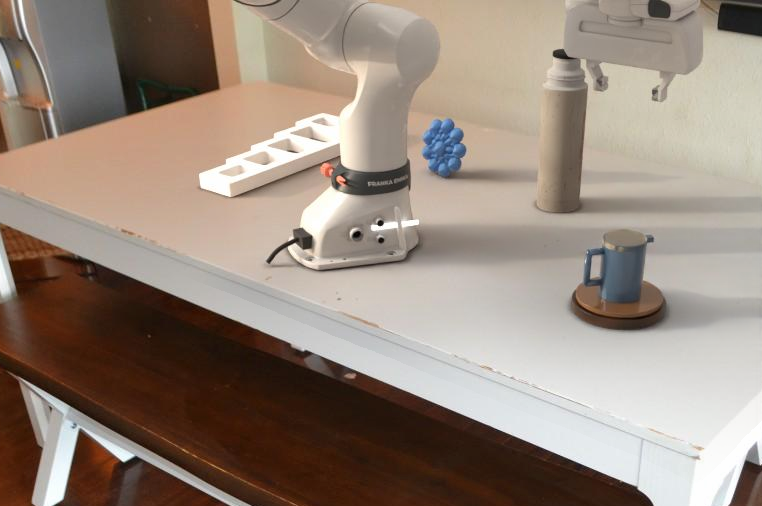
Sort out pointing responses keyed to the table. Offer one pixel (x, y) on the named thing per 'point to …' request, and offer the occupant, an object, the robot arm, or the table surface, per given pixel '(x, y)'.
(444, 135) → the grapes
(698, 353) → the table surface
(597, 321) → the turntable base
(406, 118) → the robot arm
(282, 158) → the holder
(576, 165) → the thermos bottle
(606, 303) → the blue mug on coaster
